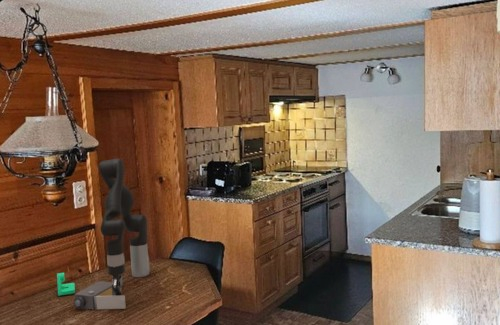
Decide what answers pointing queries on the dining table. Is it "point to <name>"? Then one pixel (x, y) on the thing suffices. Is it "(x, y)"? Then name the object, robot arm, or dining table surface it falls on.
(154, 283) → the dining table surface
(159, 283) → the dining table surface
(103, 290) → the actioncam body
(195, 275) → the dining table surface
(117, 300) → the side door
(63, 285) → the camera mount
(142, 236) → the robot arm
